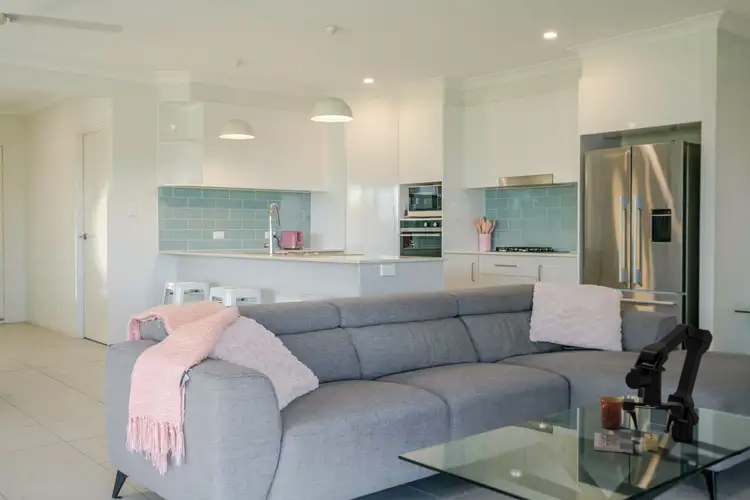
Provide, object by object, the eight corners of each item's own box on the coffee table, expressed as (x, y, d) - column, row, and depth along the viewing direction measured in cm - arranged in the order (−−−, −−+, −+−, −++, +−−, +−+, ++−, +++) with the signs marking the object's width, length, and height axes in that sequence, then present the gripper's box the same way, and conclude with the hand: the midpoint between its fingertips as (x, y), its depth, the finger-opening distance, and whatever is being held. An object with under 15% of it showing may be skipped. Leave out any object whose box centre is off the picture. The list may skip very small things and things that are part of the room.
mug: (603, 422, 275) (603, 395, 274) (626, 426, 269) (627, 398, 269) (591, 429, 265) (591, 401, 265) (615, 434, 260) (616, 405, 259)
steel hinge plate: (630, 439, 254) (631, 430, 254) (632, 453, 239) (632, 443, 238) (594, 436, 257) (594, 427, 257) (594, 449, 242) (594, 440, 242)
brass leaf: (656, 446, 247) (656, 433, 247) (658, 451, 241) (658, 439, 241) (643, 445, 248) (644, 432, 248) (645, 450, 242) (645, 437, 242)
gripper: (680, 382, 248) (679, 427, 249) (621, 378, 254) (621, 423, 255) (683, 389, 238) (682, 437, 239) (622, 385, 243) (622, 432, 244)
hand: (651, 431), depth 244 cm, fingers open, 9 cm apart
